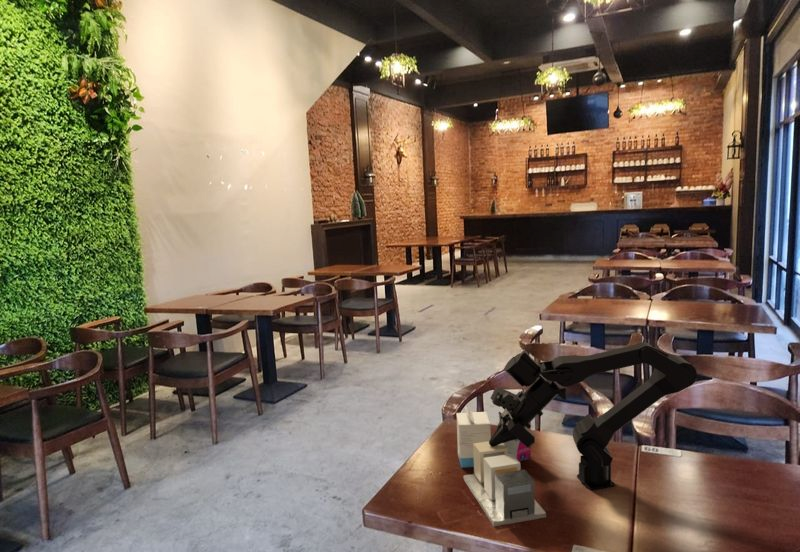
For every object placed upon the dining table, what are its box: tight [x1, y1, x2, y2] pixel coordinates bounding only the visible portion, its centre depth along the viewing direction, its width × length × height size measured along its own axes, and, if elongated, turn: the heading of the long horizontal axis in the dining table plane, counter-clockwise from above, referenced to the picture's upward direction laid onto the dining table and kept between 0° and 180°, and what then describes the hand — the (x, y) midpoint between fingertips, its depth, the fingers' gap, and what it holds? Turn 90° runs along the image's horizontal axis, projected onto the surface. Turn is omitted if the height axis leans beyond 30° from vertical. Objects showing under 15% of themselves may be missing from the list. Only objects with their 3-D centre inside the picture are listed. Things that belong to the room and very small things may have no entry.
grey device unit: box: [463, 469, 547, 527], centre depth 120 cm, size 12×20×9 cm, turn 11°
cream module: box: [484, 454, 522, 500], centre depth 120 cm, size 7×5×8 cm
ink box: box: [455, 406, 492, 469], centre depth 139 cm, size 9×8×13 cm
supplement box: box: [503, 421, 532, 463], centre depth 139 cm, size 6×6×12 cm
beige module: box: [473, 441, 508, 483], centre depth 127 cm, size 7×5×8 cm
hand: (490, 444), depth 126 cm, fingers closed, pressing on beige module
